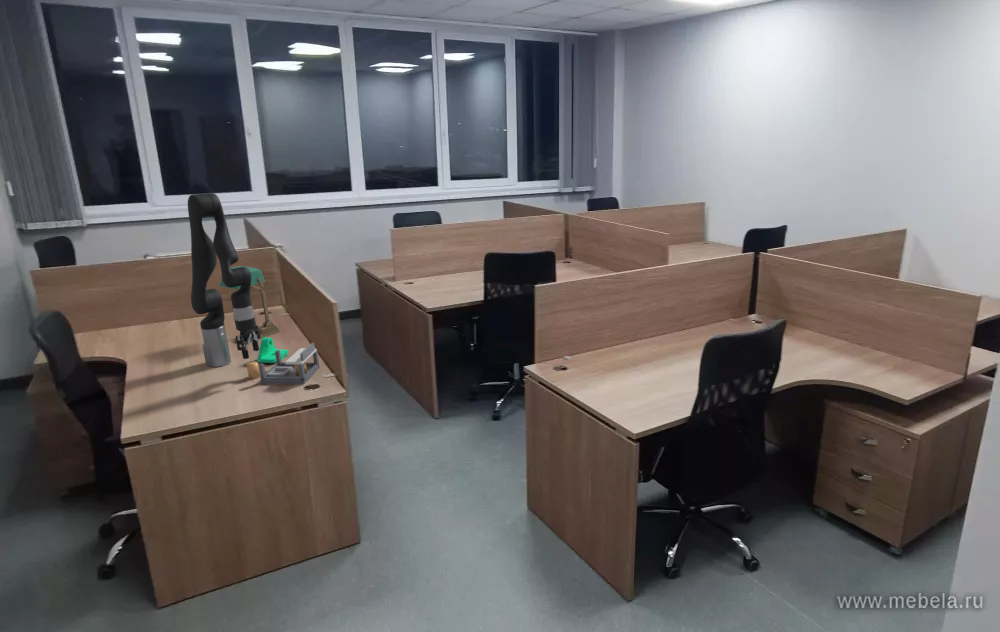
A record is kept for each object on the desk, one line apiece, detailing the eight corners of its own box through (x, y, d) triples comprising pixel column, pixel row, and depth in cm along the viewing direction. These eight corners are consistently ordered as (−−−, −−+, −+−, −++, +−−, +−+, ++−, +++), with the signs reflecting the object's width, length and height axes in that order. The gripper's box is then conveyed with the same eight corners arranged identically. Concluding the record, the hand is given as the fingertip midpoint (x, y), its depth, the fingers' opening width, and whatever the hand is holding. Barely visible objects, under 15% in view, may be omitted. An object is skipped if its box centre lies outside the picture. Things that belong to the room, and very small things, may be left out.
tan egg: (246, 379, 239) (244, 365, 238) (252, 374, 244) (249, 361, 242) (257, 379, 239) (254, 365, 237) (262, 374, 243) (259, 361, 241)
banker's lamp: (284, 333, 292) (273, 265, 281) (247, 346, 275) (235, 274, 264) (264, 328, 300) (253, 261, 289) (227, 340, 284) (214, 271, 273)
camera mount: (274, 365, 253) (270, 343, 250) (258, 364, 255) (254, 342, 251) (289, 355, 264) (286, 333, 261) (274, 354, 266) (271, 333, 263)
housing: (261, 383, 235) (258, 365, 233) (279, 367, 250) (276, 350, 248) (304, 383, 233) (301, 365, 231) (319, 367, 249) (317, 350, 246)
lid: (285, 364, 232) (283, 355, 231) (300, 350, 246) (299, 341, 245) (302, 364, 231) (300, 355, 230) (316, 350, 246) (315, 341, 244)
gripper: (244, 311, 240) (251, 348, 245) (226, 322, 227) (233, 361, 232) (261, 311, 240) (268, 348, 245) (244, 322, 226) (251, 361, 231)
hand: (251, 354), depth 238 cm, fingers open, 8 cm apart
